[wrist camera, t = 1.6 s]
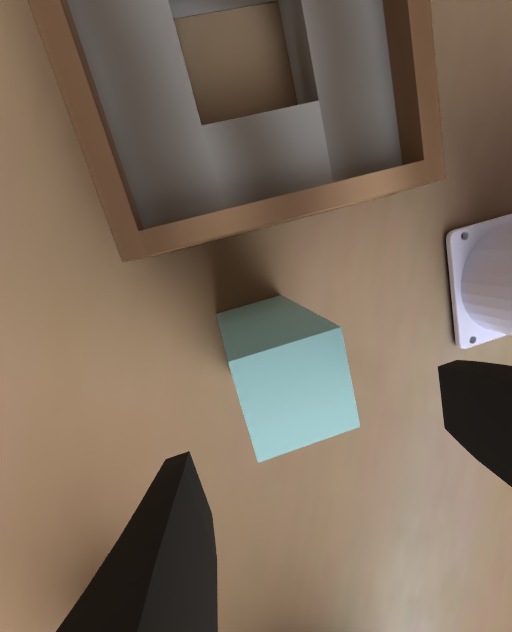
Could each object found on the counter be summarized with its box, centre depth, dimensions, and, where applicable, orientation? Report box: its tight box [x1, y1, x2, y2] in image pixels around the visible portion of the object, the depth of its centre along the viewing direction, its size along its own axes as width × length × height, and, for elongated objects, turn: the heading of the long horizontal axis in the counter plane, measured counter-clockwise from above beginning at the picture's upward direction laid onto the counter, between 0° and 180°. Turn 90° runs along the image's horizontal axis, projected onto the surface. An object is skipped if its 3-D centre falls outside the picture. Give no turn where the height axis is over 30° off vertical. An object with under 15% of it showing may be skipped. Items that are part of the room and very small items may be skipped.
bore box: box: [28, 0, 446, 262], centre depth 13 cm, size 15×15×4 cm
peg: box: [216, 295, 360, 463], centre depth 14 cm, size 4×4×8 cm
